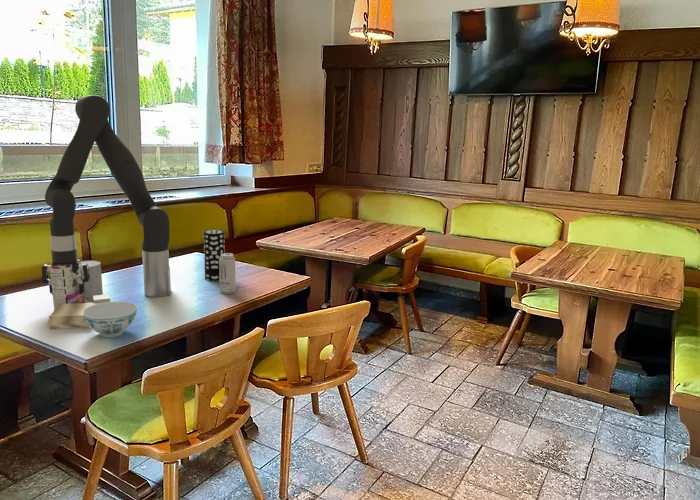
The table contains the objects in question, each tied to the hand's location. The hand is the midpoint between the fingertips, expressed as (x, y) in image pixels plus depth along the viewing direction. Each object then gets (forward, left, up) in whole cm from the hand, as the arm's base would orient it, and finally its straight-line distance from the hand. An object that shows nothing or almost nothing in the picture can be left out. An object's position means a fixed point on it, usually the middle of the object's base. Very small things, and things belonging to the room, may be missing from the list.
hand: (67, 294), depth 180 cm
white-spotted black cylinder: (-48, -32, -6) cm, 58 cm away
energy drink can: (-53, -13, -6) cm, 55 cm away
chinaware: (-18, +24, -6) cm, 31 cm away
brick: (-11, +3, -5) cm, 13 cm away
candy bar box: (0, 0, -6) cm, 6 cm away
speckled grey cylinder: (-3, -14, -6) cm, 15 cm away
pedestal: (-5, +12, -5) cm, 14 cm away
